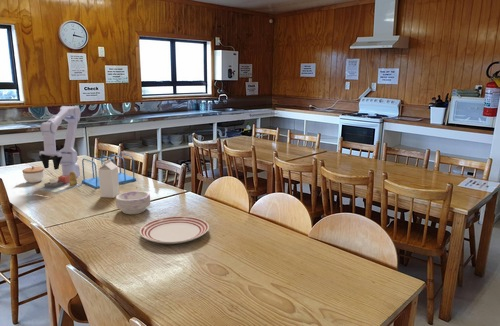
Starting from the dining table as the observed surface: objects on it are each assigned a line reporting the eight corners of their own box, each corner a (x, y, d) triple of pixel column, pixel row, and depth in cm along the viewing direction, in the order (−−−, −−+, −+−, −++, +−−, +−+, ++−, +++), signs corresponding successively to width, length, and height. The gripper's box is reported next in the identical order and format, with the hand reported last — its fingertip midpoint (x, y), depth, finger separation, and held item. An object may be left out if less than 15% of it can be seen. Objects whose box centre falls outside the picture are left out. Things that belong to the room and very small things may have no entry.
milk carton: (119, 193, 202) (117, 159, 198) (113, 198, 195) (111, 162, 191) (106, 193, 203) (104, 158, 198) (100, 197, 196) (97, 161, 192)
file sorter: (96, 190, 209) (93, 162, 205) (81, 183, 220) (79, 157, 217) (136, 181, 227) (135, 155, 223) (121, 175, 238) (119, 151, 235)
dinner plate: (137, 226, 161) (136, 218, 160) (200, 218, 171) (200, 211, 170) (143, 254, 136) (143, 246, 135) (217, 243, 146) (216, 235, 145)
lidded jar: (38, 185, 216) (36, 169, 214) (20, 184, 216) (17, 168, 214) (48, 179, 226) (46, 164, 224) (30, 179, 226) (29, 164, 224)
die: (63, 181, 220) (62, 174, 219) (69, 182, 220) (69, 175, 219) (59, 183, 217) (58, 176, 216) (65, 184, 216) (64, 177, 215)
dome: (54, 182, 215) (53, 178, 214) (59, 182, 213) (59, 178, 213) (48, 183, 211) (47, 179, 211) (53, 184, 210) (53, 180, 209)
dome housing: (55, 184, 217) (54, 180, 216) (63, 186, 215) (63, 181, 214) (44, 187, 211) (44, 183, 210) (53, 189, 208) (53, 185, 208)
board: (63, 182, 222) (63, 181, 222) (84, 185, 216) (84, 184, 216) (36, 190, 206) (36, 189, 206) (57, 194, 200) (57, 193, 200)
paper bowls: (134, 203, 188) (134, 188, 186) (157, 209, 180) (156, 193, 179) (109, 212, 175) (108, 196, 173) (132, 219, 168) (131, 202, 166)
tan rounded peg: (73, 183, 217) (72, 170, 215) (78, 184, 216) (77, 171, 214) (68, 185, 214) (67, 171, 212) (73, 185, 213) (71, 172, 211)
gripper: (33, 144, 207) (35, 168, 209) (53, 145, 201) (54, 170, 204) (45, 142, 213) (46, 166, 216) (64, 144, 208) (65, 168, 210)
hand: (51, 168), depth 210 cm, fingers open, 7 cm apart
